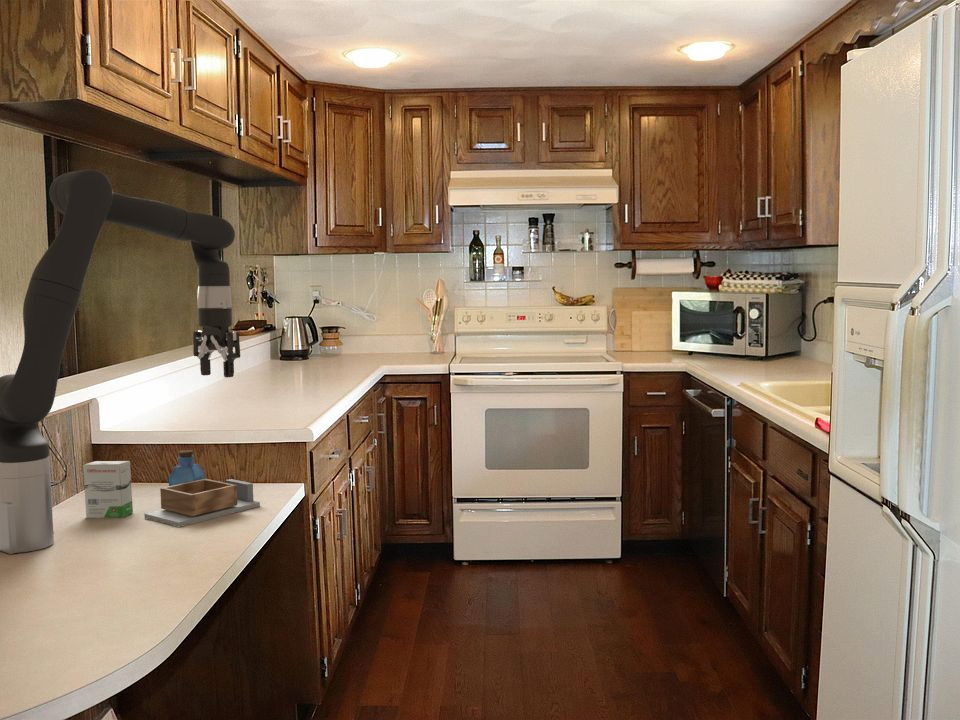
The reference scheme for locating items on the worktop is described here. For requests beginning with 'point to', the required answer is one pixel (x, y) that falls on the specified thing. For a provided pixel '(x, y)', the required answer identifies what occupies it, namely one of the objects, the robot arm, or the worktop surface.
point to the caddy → (198, 497)
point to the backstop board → (181, 519)
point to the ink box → (108, 489)
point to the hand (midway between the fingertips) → (217, 376)
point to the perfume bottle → (186, 469)
